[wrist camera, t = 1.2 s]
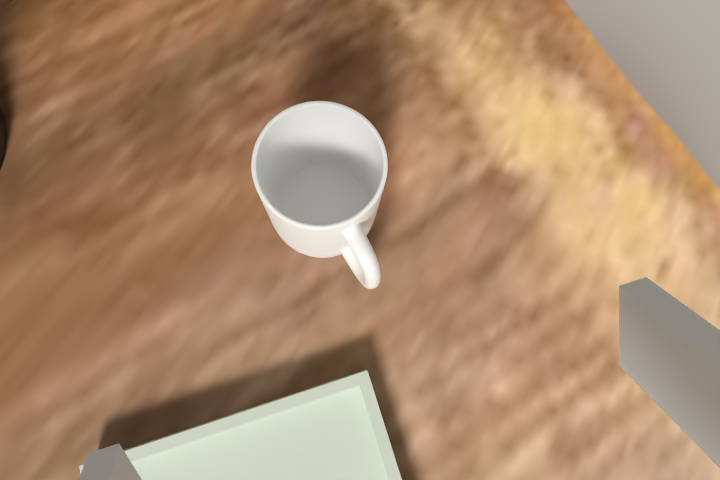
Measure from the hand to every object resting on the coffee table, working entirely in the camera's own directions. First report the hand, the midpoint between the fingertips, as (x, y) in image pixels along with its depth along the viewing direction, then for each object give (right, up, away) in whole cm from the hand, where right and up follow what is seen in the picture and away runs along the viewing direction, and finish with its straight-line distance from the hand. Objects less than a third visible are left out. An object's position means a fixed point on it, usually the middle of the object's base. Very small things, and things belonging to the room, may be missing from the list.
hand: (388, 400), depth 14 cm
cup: (-3, +5, +28) cm, 29 cm away
